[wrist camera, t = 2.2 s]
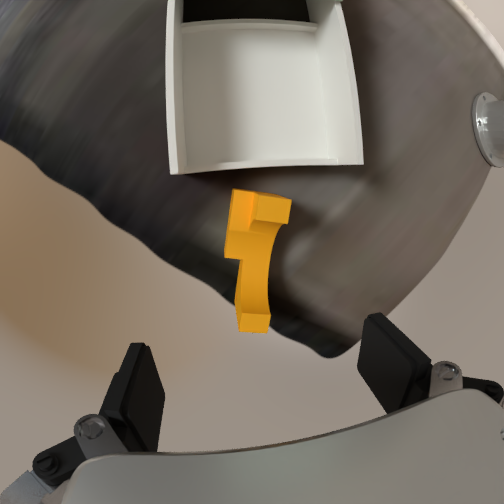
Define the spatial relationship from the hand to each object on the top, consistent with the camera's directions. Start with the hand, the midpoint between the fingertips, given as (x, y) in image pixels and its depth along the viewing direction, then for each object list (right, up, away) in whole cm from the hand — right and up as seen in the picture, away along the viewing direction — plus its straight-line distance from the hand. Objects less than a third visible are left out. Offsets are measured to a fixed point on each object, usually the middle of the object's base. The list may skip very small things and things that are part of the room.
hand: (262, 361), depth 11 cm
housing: (-1, +28, +11) cm, 30 cm away
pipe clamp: (-1, +5, +18) cm, 19 cm away
